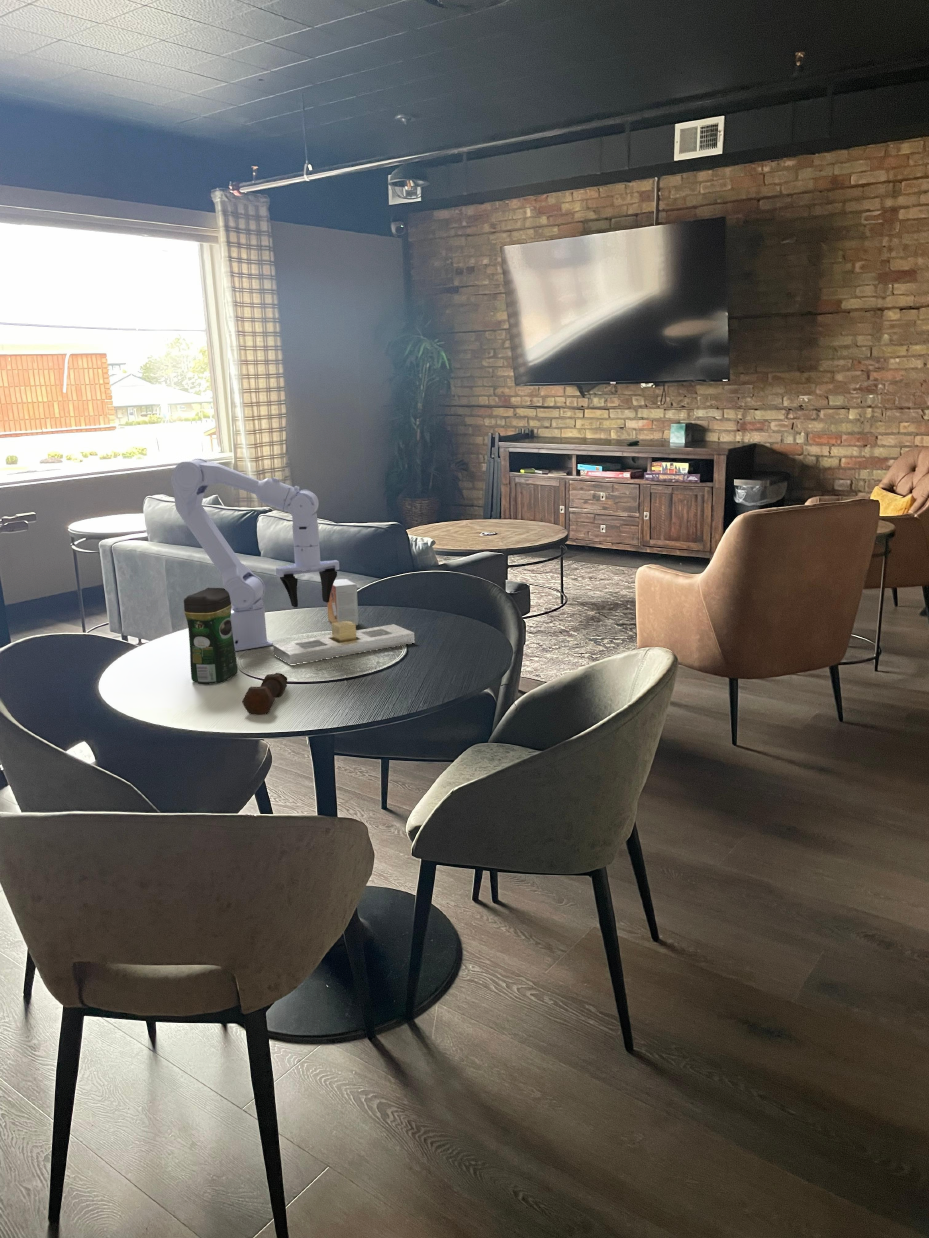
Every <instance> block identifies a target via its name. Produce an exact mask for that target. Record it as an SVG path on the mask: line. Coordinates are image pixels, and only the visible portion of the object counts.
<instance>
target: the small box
mask: <svg viewBox="0 0 929 1238" xmlns="http://www.w3.org/2000/svg"><path fill="white" fill-rule="evenodd" d="M357 586H358V584H357V583H354V582H353V581H351V580H349V579H348V578H341V579H335V581H334V583H333V586H332V589H331V593H330V599H329V602H327V606H326V607H327V621H329V622H330V623H331V624H332V623H336V622H342V621H350V622H352V623H354V624H356V626H358V625H359V611H358V610H359V607H358V587H357Z"/></svg>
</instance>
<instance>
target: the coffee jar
mask: <svg viewBox="0 0 929 1238" xmlns="http://www.w3.org/2000/svg"><path fill="white" fill-rule="evenodd" d="M231 609H232V604H231V600H230V595H229V593H228V591H227V590H226V589H225V587H206V588H205V589H202V590H200V591H197V592H196V593H192V594H189V595H187V596H186V597H184V599H183V611H184V612H183V613H184V616H185V618H186V619H185V620H186V623H187V628H188V630H187V631H188V638H189V639H188V640H189V642H188V643H189V659H190V660H189V664H190V665H189V667H190V676H191V677H190V678H191V681H192V682H194V683H196V684H199V685H206V686H208V685H213V684H221V683H224V682H227V681H228V680H230V679H232V678H233V677H234V676H236V675H237V674H238V672H239V667H238V660H237V655H236V651H235V647H234V640H233V633H232V625H231Z"/></svg>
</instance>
